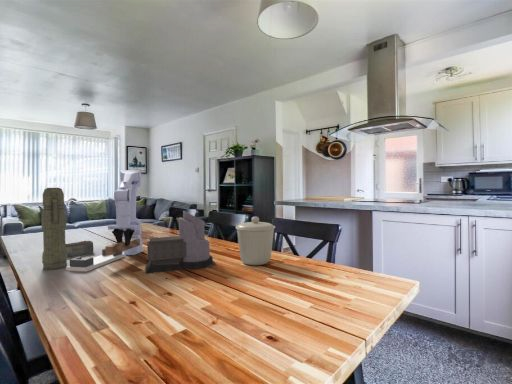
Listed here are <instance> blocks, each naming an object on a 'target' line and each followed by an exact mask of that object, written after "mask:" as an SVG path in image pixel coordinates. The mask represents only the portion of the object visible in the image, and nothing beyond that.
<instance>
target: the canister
mask: <svg viewBox="0 0 512 384" xmlns="http://www.w3.org/2000/svg"><path fill="white" fill-rule="evenodd" d="M275 228H276V226H275V225H274V224H272V223H270V222H264V221H260V218H259V216H252V217H251V221H247V222H242V223H240V224H237V225H236V226H235V229H236V233H237V242H238V251H239V256H240V260H241V261H242V263H243V264H245V265H248V266H263V265H266V264H268V263H270V260H271V257H272V252H273V251H272V249H273V242H274V241H273V240H274V231H275Z"/></svg>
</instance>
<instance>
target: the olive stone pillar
mask: <svg viewBox="0 0 512 384" xmlns="http://www.w3.org/2000/svg"><path fill="white" fill-rule="evenodd" d="M64 205H65V194H64V191H63V188H60V187H46V188H44V190H43V192H42V206H43V209H42V214H41V216H40V217H41V220H40V221H41V229H42V235H43V252H42V257H41V259H42V262H41V263H42V265H43V266H42V269H43V270H44V271H52V270H53V271H55V270H60V269H62V268H63V269H64V268H66V267H67V266H68V257H67V250H66V244H67V243H66V227H67V214H66V211H65V206H64Z"/></svg>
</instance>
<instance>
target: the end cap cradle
mask: <svg viewBox="0 0 512 384" xmlns="http://www.w3.org/2000/svg"><path fill="white" fill-rule="evenodd" d="M125 257H126V255H125V254H124V253H123V251H122V252H119V253H116V254H114V255H105V248H103V249H101V254H100V255H98V256H95V257H93V256H91V257H88V258H85V259H82V256H76V257H73V258H71V259H69V265H67V266H66V267H65V271H69V272H70V271H71V272H89V271H91V270H95V269H96V268H99V267H102V266H105V265H107V264H110V263H111V262H115V261H117V260H120V259H123V258H125Z"/></svg>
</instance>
